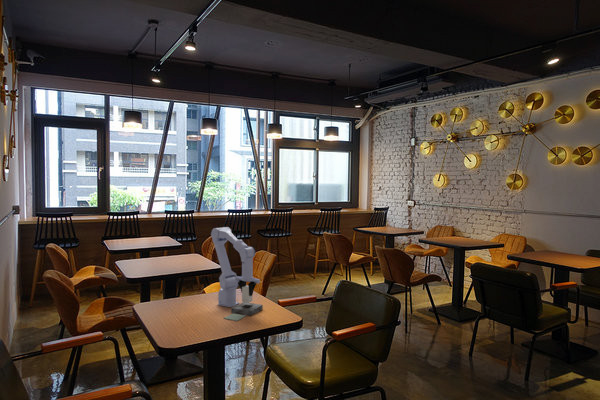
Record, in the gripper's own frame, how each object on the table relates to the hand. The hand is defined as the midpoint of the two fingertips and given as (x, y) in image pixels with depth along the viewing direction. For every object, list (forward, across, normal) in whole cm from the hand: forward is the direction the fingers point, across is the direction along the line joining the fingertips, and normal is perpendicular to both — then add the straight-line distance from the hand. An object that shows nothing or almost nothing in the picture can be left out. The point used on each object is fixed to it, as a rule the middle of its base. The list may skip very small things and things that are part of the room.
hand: (247, 295), depth 214 cm
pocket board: (+9, 0, 0) cm, 9 cm away
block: (+3, 0, 0) cm, 3 cm away
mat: (+9, 0, -12) cm, 14 cm away
